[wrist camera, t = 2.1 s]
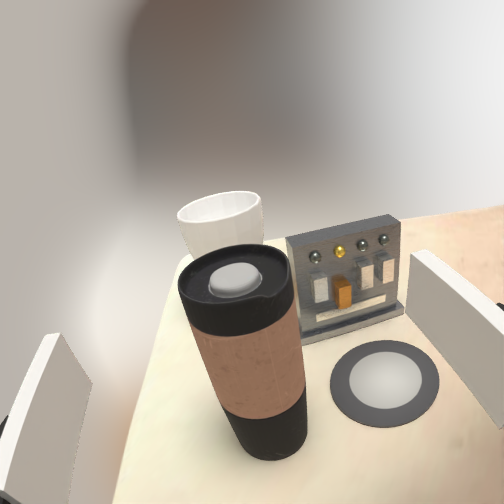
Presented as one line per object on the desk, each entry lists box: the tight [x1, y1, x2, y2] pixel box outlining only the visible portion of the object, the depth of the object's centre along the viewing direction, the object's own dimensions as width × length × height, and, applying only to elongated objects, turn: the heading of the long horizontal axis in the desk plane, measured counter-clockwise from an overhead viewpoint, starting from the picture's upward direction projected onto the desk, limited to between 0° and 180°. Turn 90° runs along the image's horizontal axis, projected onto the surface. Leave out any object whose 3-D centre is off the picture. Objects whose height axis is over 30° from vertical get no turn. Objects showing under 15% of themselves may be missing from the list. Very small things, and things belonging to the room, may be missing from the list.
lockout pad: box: [330, 340, 439, 428], centre depth 33 cm, size 13×13×1 cm
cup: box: [177, 191, 264, 260], centre depth 48 cm, size 12×12×17 cm
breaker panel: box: [285, 214, 404, 346], centre depth 40 cm, size 16×5×14 cm, turn 99°
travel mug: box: [178, 244, 307, 460], centre depth 25 cm, size 8×8×20 cm
